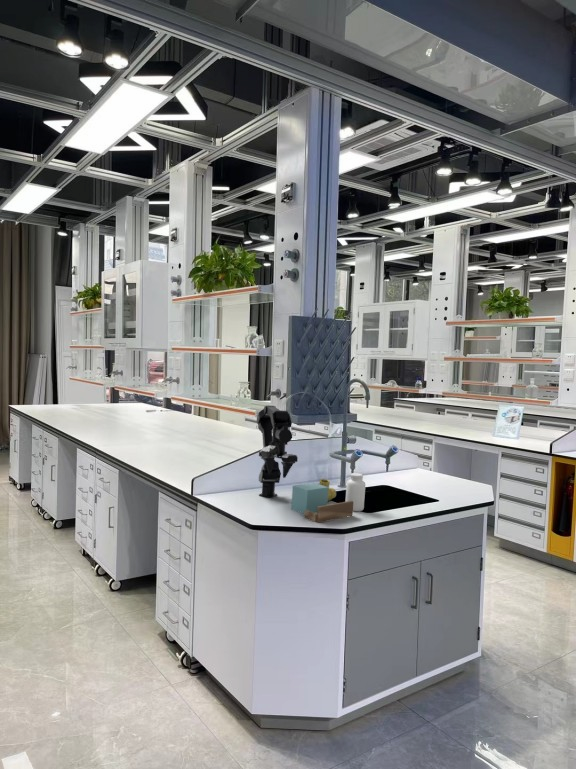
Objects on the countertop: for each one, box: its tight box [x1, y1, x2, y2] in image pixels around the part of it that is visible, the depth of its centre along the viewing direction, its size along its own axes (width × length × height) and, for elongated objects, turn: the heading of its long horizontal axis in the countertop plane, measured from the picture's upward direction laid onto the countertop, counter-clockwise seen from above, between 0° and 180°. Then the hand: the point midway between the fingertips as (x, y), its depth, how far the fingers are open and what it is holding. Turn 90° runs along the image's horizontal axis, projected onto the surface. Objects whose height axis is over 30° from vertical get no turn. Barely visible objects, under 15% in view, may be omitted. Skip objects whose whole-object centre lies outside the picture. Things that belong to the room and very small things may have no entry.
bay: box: [303, 501, 354, 524], centre depth 227 cm, size 8×20×6 cm, turn 131°
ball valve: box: [318, 478, 337, 501], centre depth 254 cm, size 13×10×10 cm
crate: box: [290, 482, 328, 515], centre depth 236 cm, size 9×12×10 cm
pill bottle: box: [344, 472, 366, 512], centre depth 242 cm, size 8×8×15 cm
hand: (276, 475), depth 243 cm, fingers open, 9 cm apart
